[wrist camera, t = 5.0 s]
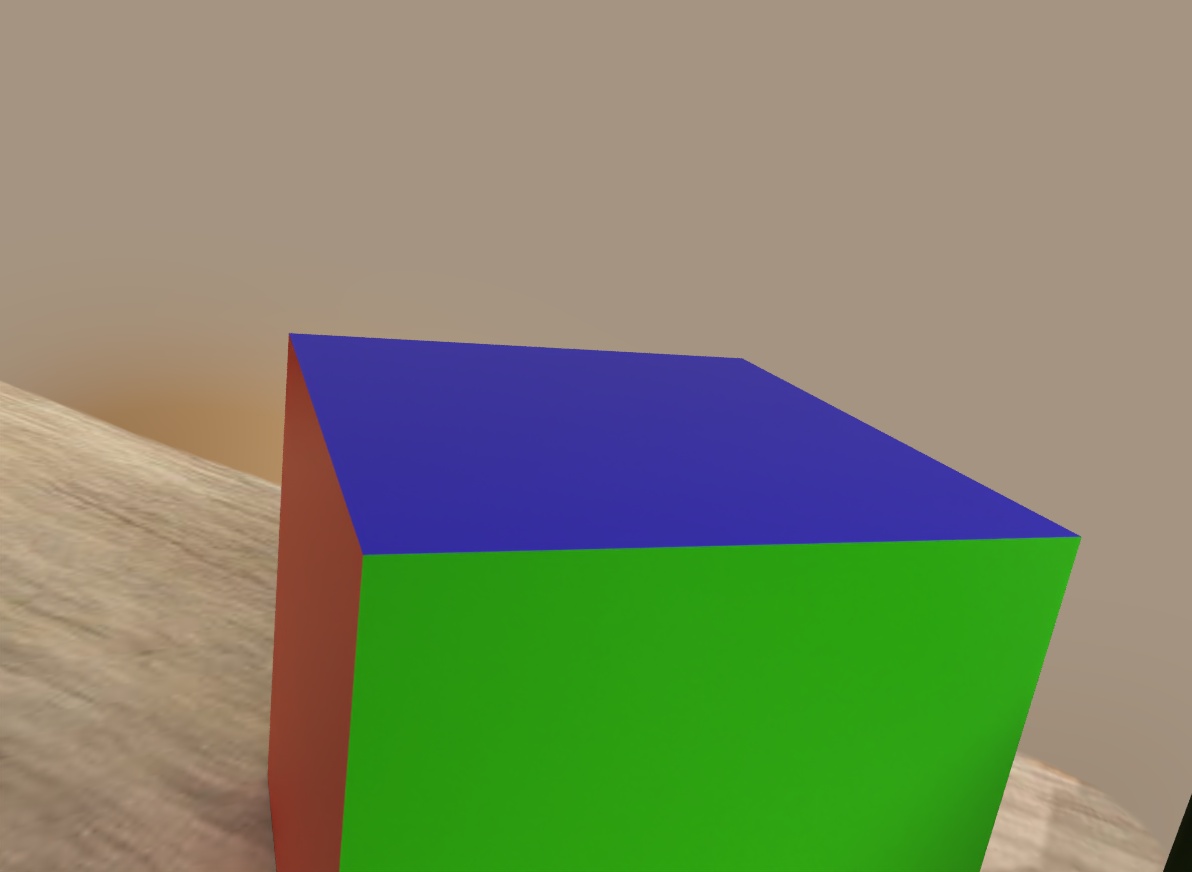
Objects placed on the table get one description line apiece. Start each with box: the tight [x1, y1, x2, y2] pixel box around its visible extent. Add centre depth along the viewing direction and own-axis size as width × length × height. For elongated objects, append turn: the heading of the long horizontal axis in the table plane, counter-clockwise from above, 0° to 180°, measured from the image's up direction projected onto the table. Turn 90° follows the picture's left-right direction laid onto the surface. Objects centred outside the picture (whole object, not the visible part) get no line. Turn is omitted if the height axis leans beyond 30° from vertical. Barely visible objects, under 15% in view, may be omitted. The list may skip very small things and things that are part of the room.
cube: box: [268, 333, 1081, 872], centre depth 14 cm, size 8×8×8 cm
